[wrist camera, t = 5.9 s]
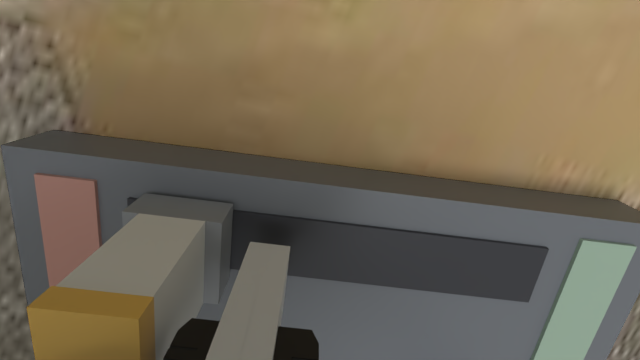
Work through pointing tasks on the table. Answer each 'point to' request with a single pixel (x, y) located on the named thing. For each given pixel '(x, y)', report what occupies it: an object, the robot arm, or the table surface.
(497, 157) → the table surface
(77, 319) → the handle
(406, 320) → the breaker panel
